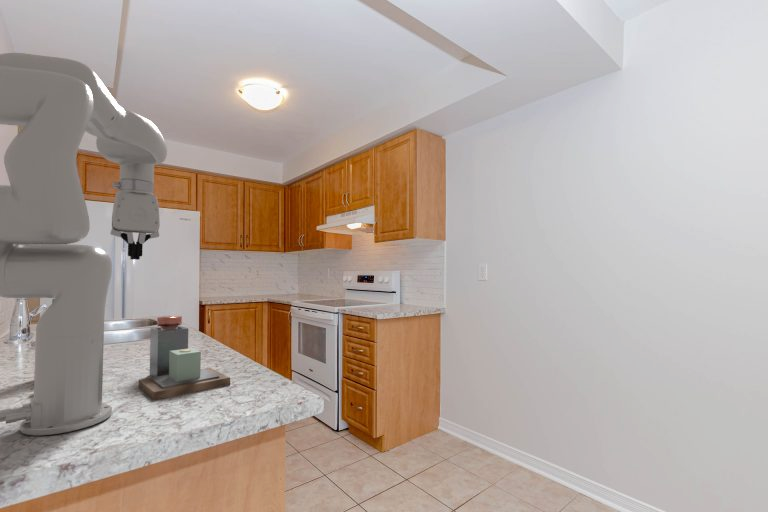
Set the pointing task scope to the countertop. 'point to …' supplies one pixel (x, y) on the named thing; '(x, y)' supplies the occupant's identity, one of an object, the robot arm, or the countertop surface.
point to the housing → (184, 364)
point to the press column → (165, 348)
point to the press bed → (182, 384)
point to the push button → (169, 322)
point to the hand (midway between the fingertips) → (134, 259)
